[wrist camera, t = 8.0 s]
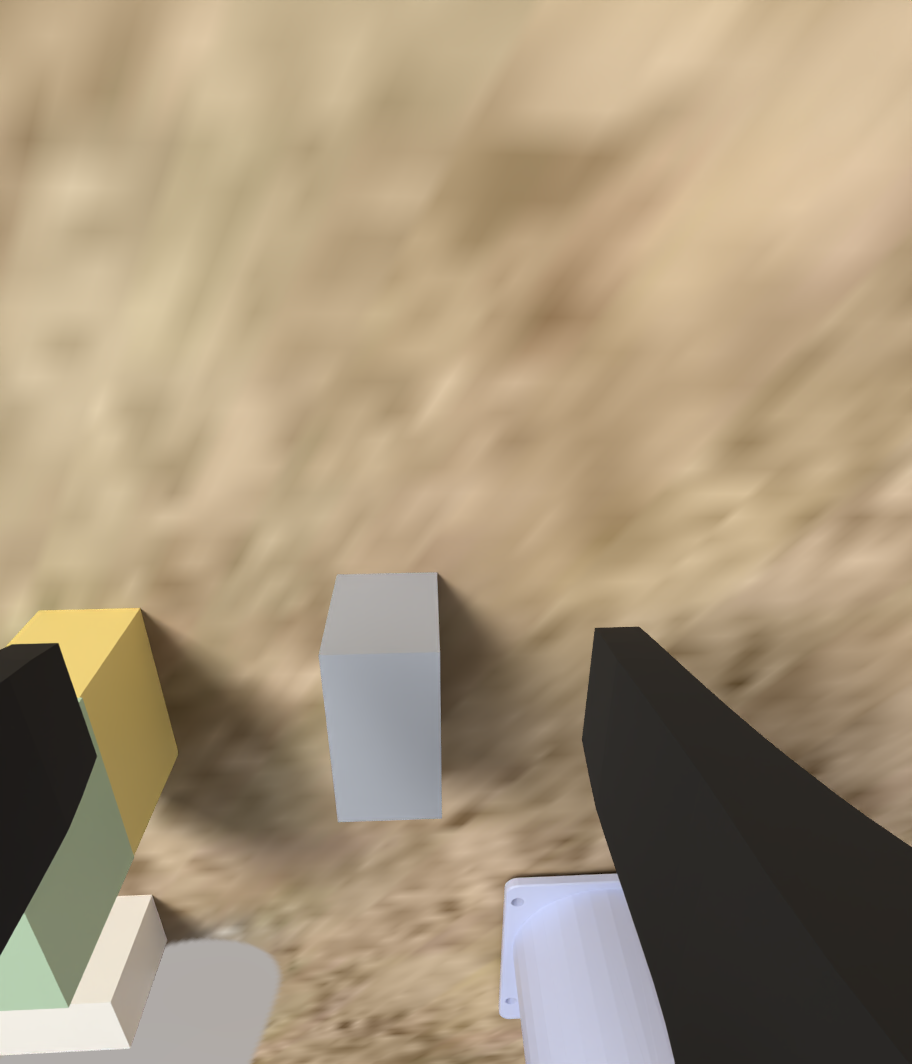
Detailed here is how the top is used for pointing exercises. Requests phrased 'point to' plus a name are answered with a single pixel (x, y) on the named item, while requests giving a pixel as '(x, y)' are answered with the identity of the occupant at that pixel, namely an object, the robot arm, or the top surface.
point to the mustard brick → (116, 701)
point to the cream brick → (98, 989)
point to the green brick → (68, 902)
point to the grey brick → (383, 696)
